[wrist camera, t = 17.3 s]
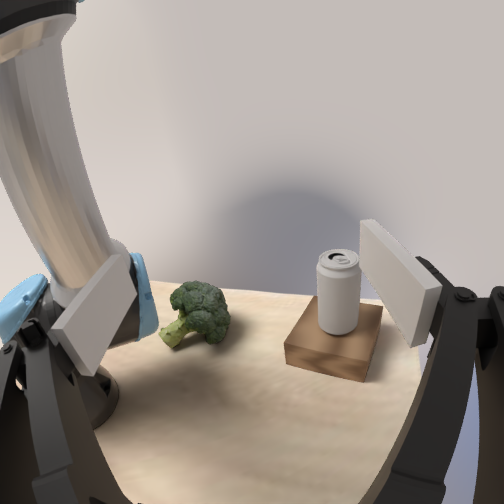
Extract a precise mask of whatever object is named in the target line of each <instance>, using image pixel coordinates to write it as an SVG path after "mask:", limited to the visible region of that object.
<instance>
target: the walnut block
mask: <svg viewBox="0 0 504 504" xmlns="http://www.w3.org/2000/svg"><path fill="white" fill-rule="evenodd" d="M382 311H383V306H378V305H371V304H364V303H360V304H359V315H358V323H357V326H356V327H355V328H354V329H353V330H352V331H351V332H349V333H346V334H343V335H333V334H330V333H327V332H325V331H323V330H322V329H321V328H320V326H319V324H318V296H314V297H313V298H312V300H311V301H310V303H309V305H308V306H307V308H306V309H305V311H304V313H303V314H302V316H301V317H300V319H299V320H298V322H297V323H296V325H295V327H294V328H293V330H292V331H291V333H290V334H289V336H288V337H287V339H286V340H285V342H284V349H285V358H286V364H288V365H292V366H295V367H299V368H303V369H307V370H311V371H314V372H318V373H323V374H327V375H331V376H335V377H340V378H344V379H349V380H354V381H358V382H363V383H364V380H365V377H366V374H367V371H368V367H369V364H370V361H371V358H372V354H373V351H374V348H375V344H376V341H377V337H378V333H379V329H380V324H381V318H382Z"/></svg>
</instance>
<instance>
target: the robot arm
mask: <svg viewBox="0 0 504 504" xmlns="http://www.w3.org/2000/svg"><path fill="white" fill-rule="evenodd" d="M83 1H84V0H0V177H1V180H2V182H3V184H4V187H5V189H6V191H7V194H8V196H9V198H10V201H11V202H12V205H13V207H14V209H15V211H16V213H17V215H18V217H19V219H20V221H21V223H22V225H23V227H24V229H25V231H26V233H27V234H28V237H29V238H30V240H31V242H32V243H33V245H34V247H35V249H36V250H37V252H38V254H39V255H40V257H41V259H42V260H43V262H44V264H45V265H46V267H47V269H48V270H49V272H50V273H51V275H52V276H51V281H50V283H48V280H47V278H46V277H45V276H44V275H43V274H36V275H33V276H31V277H29V278H28V279H26V280H24V281H23V282H21V283H20V284H19V285H17V286H16V287H15V288H13V289H12V290H11V291H10V292H9V293H8V294H7V295H6V296H5V297H4V298H3V300H2V301H1V302H0V337H1V339H2V342H3V344H4V345H3V347H2V348H1V350H0V504H133V503H132V502H131V501H129V500H128V499H127V498H126V497H125V495H124V494H123V493H122V491H121V489H120V488H119V486H118V484H117V482H116V480H115V478H114V476H113V474H112V472H111V470H110V468H109V466H108V464H107V462H106V460H105V457H104V455H103V453H102V451H101V448H100V446H99V444H98V441H97V439H96V436H95V434H94V431H93V429H94V428H96V427H98V426H100V425H101V424H102V423H103V422H105V421H106V420H107V419H108V417H109V416H110V415H111V414H112V412H113V410H114V408H115V406H116V404H117V400H118V387H117V384H116V382H115V380H114V379H113V377H112V376H111V375H110V373H109V372H108V371H107V370H106V369H105V368H104V367H102V366H101V365H100V362H101V360H102V358H103V356H104V354H105V352H106V350H108V349H112V348H115V347H118V346H122V345H125V344H128V343H131V342H134V341H135V342H137V341H139V340H140V339H141V338H144V337H146V336H149V335H151V334H153V333H155V332H156V330H157V329H158V326H159V321H158V316H157V311H156V307H155V303H154V299H153V296H152V292H151V288H150V283H149V279H148V275H147V271H146V268H145V264H144V261H143V257H142V255H141V254H139V253H128V251H127V249H126V247H125V246H124V245H123V244H122V243H121V242H119V241H117V240H115V239H111V238H110V237H109V235H108V232H107V230H106V227H105V225H104V222H103V220H102V217H101V214H100V211H99V208H98V205H97V203H96V200H95V197H94V194H93V191H92V188H91V185H90V182H89V178H88V175H87V172H86V169H85V165H84V162H83V159H82V154H81V151H80V147H79V143H78V139H77V135H76V131H75V127H74V122H73V118H72V113H71V108H70V103H69V98H68V92H67V87H66V80H65V74H64V66H63V58H62V49H61V41H62V39H63V37H64V35H65V34H66V33H67V31H68V30H69V29H70V27H71V26H72V25H73V24H74V22H75V21H76V3H77V2H79V3H80V2H83ZM359 267H360V268H361V270H362V271H363V273H364V274H365V276H366V277H367V279H368V280H369V282H370V283H371V285H372V286H373V288H374V289H375V291H376V292H377V294H378V295H379V297H380V299H381V300H382V302H383V304H384V305H385V307H386V308H387V310H388V312H389V313H390V315H391V316H392V318H393V320H394V321H395V323H396V325H397V326H398V328H399V330H400V331H401V333H402V335H403V336H404V338H405V340H406V342H407V343H408V345H409V347H410V348H412V347H415V346H418V345H421V344H425V343H426V341H427V338H428V335H429V332H430V333H431V334H432V336H433V338H434V340H433V343H432V345H431V348H430V351H429V353H428V356H427V358H428V360H427V363H426V366H425V369H424V372H423V375H422V378H421V381H420V384H419V387H418V390H417V392H416V395H415V398H414V400H413V403H412V405H411V408H410V410H409V413H408V415H407V417H406V420H405V422H404V424H403V427H402V429H401V431H400V433H399V435H398V437H397V439H396V441H395V443H394V445H393V447H392V449H391V451H390V453H389V455H388V457H387V459H386V461H385V463H384V464H383V466H382V468H381V470H380V471H379V473H378V475H377V477H376V478H375V480H374V482H373V483H372V485H371V486H370V488H369V490H368V491H367V493H366V494H365V495H364V497H363V498H362V499H361V501H360V502H359V503H358V504H441V503H442V501H443V498H444V495H445V491H446V486H445V484H444V478H445V475H446V472H447V470H448V467H449V465H450V462H451V459H452V456H453V453H454V450H455V447H456V444H457V441H458V437H459V434H460V430H461V427H462V423H463V419H464V415H465V411H466V407H467V402H468V397H469V392H470V387H471V381H472V375H473V368H474V360H475V367H476V375H477V385H478V398H479V419H480V420H479V422H480V423H479V426H480V427H479V458H478V470H477V479H476V486H475V493H474V499H473V504H504V287H503V286H496V287H494V288H493V289H492V292H491V294H490V297H489V298H477V296H476V294H475V293H474V292H473V291H471V290H470V289H467V288H465V287H454V286H453V285H452V284H451V283H450V282H449V281H448V280H447V279H446V278H445V277H444V276H443V275H442V274H441V273H439V271H438V270H437V269H436V268H434V266H433V265H432V264H431V263H430V262H429V261H427V260H425V259H423V258H422V257H420V256H419V257H414V256H413V255H412V254H411V253H410V252H409V251H408V250H407V249H406V248H405V247H404V246H402V245H401V244H400V243H399V242H398V241H397V240H396V239H395V238H394V237H393V236H392V235H391V234H389V233H388V232H387V231H386V230H385V229H384V228H383V227H382V226H381V225H379V224H378V223H377V222H376V221H375V220H374V219H368V220H361V221H360V258H359ZM16 379H17V380H18V382H19V383H20V384H21V385H22V390H20V389H19V388H18V386H17V385H16ZM138 504H141V503H138Z"/></svg>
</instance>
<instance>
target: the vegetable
mask: <svg viewBox="0 0 504 504" xmlns="http://www.w3.org/2000/svg"><path fill="white" fill-rule="evenodd" d="M170 296H171V297H170V302H171V305H172V308H173V309H174V311H175V310H178V309H179V315H178V319H177V320H176V321H175V322H173V323H171V324H170V325H169V326H167V327H166V328H162V329H161V332H159V336H160V337H161V339H162V340H163V341H164V342H165V344H166V345H168V346H169V347H170V348H171V349H172V348H173V347H175V346H176V345H179V344H180V341H181V340H182V338H183V337H184V336H185V335H186V334H188V333H190V332H194V331H197V333H199V334H202V333H203V334H205V335H206V342H207V343H208V344H213V343H217V342H219V341H221V340H222V339H223V338H224V336H225V332H226V330H227V329H228V325H229V324H230V317H231V316H230V315H229V312H228V311H227V304H226V303H225V298H224V295H223V292H222V291H221V289H218V288H217V287H215V286H211V285H210V284H208V283H201V282H198V281H194V282H185V283H183V285H182V286H180V288H177V289H176V290H175V291H174V292H173V294H171V295H170Z"/></svg>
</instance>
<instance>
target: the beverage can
mask: <svg viewBox="0 0 504 504" xmlns="http://www.w3.org/2000/svg"><path fill="white" fill-rule="evenodd" d="M361 272H362V270H361V268H360V267H359V256H358V255H357V254H356V253H355V252H353V251H350V250H346V249H334V250H329V251H326V252H324V253H322V254H321V255H320V257H319V262H318V264H317V292H318V324H319V326H320V328H321V329H322V330H323V331H325V332H327V333H330V334H333V335H343V334H346V333H349V332H351V331H352V330H353V329H354V328H355V327H356V326H357V323H358V315H359V304H360V290H361Z"/></svg>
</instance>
